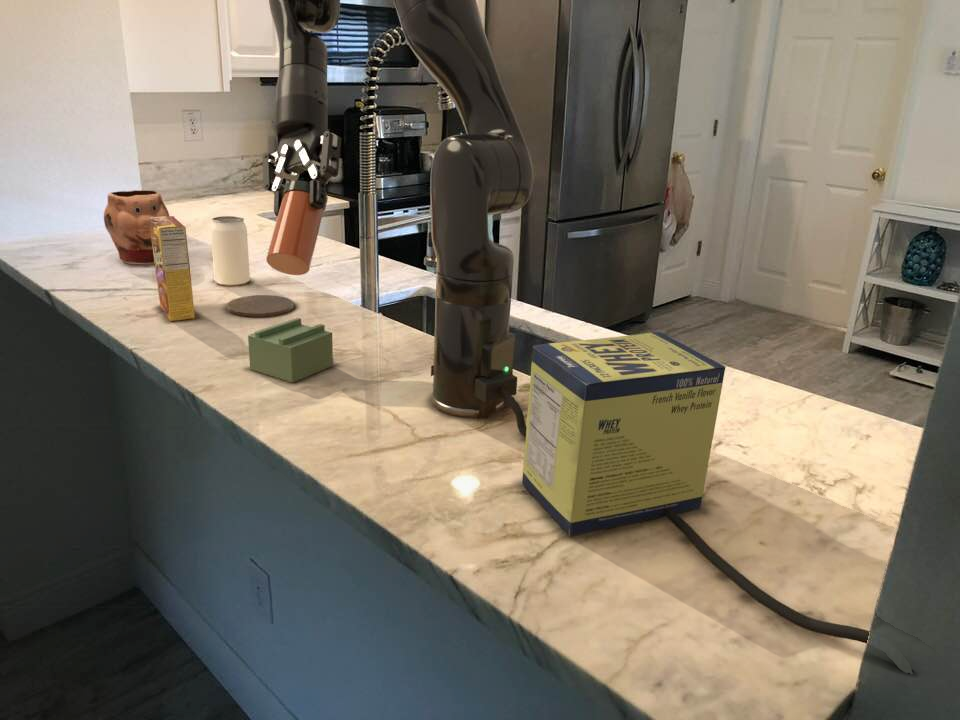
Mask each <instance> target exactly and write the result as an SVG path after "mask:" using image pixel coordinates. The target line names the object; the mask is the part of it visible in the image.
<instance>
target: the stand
mask: <svg viewBox="0 0 960 720" xmlns="http://www.w3.org/2000/svg"><path fill="white" fill-rule="evenodd" d="M325 327H326V326H325V324H323V323H319V324H316V325H314V326H310V325H306V324H302V318H299V317H295V318H293V319H292V318H291V319H290V320H289V319H288V320H287V321H284V322H283V321H282V322H280V323H277V324H274V325H270V326H268V327H265V328H261V329H258V330H257V331H256V330H255V331H254V333H249V334H248V335H247V341H248V358H249V369H250V370H251V371H254V372H258V373H261V374H264V375H267V376H270V377H274V378H276V379H279V380H282V381H285V382H289V383H296V382H298V381H300V380H303V379H305V378H307V377H310V376H312V375H314V374H317V373H319V372H322V371H324V370H326V369H329V368H331V367H333V366H334V354H333V350H334V349H333V348H334V347H333V346H334V345H333V332H331V331H328V330H325V329H326V328H325Z"/></svg>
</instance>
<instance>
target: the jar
mask: <svg viewBox="0 0 960 720" xmlns="http://www.w3.org/2000/svg"><path fill="white" fill-rule="evenodd" d="M284 184H285V183H284ZM283 186H284V185H283ZM281 198H282V202H281V206H280V209H279V213H278V217H277V216H276V217H277V218H276V220H275V224H274V228H273V232H272V236H271V239H270V243H269V247H268V251H267V255H266V260H265V261H266V263H267V264H268V265H269V266H270V267H271V268H272V269H274V270H275V271H277V272H280V273H283V274H285V275H292V276H303V275H306V274H307V273H309V272H310V270H311V269H310V268H311V265H312V260H313V257H314V252H315V248H316V244H317V240H318V237H319V236H318V235H319V231H320V227H321V222H322V219H323V214H324V212H325V211H326V207H327V205H328V199H329V198H328V194H327V193H326V202H325V204H324V208H323V209H320V210H318V209H316V208H313V207H311V206H310V181H306V180H301V179H298V180H295V181H290V182H288V183H286V184H285V186H284V189H283V192H282V197H281Z"/></svg>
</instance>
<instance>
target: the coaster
mask: <svg viewBox="0 0 960 720" xmlns="http://www.w3.org/2000/svg"><path fill="white" fill-rule="evenodd" d="M226 309H227V311H228V313H229V312H230V313H231V314H233V315H237V316H242V317H249V318H265V317H274V316H279V315H283V314H287V313H289V312H291V311H292V310H293V309H294V302H293V300H291V299H290V298H287V297H285V296H279V295H274V294H273V295H272V294H271V295H270V294H256V295H249V296H248V295H247V296H242V297H241V296H240V297H237V298H234V299H232V300H230V301H228V302H227V304H226Z"/></svg>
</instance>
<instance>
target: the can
mask: <svg viewBox="0 0 960 720" xmlns="http://www.w3.org/2000/svg"><path fill="white" fill-rule="evenodd" d="M211 220H212V222H211V224H210V243H211V254H212V267H213V269H212V270H213V279H214V282H215V284H217V285H220V286H226V287H229V286H230V287H235V286H243V285H246V284H247V283H249V281H250V279H251V276H250V262H249V261H250V258H249V257H250V256H249V241H248V239H249V238H248V227H247V225H246V223H245V221H244V220H245V218H244V217H241V216H234V215H222V216H215V217H213V218H211Z"/></svg>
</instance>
